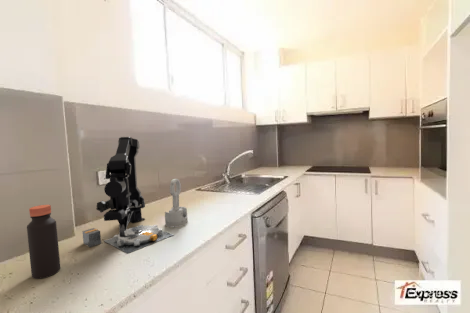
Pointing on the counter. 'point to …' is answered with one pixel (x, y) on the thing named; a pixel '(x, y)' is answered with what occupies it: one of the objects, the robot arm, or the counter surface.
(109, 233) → the counter surface
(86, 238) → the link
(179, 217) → the engine component
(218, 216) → the counter surface
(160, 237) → the cover plate
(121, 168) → the robot arm
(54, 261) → the bottle
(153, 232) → the sprocket
